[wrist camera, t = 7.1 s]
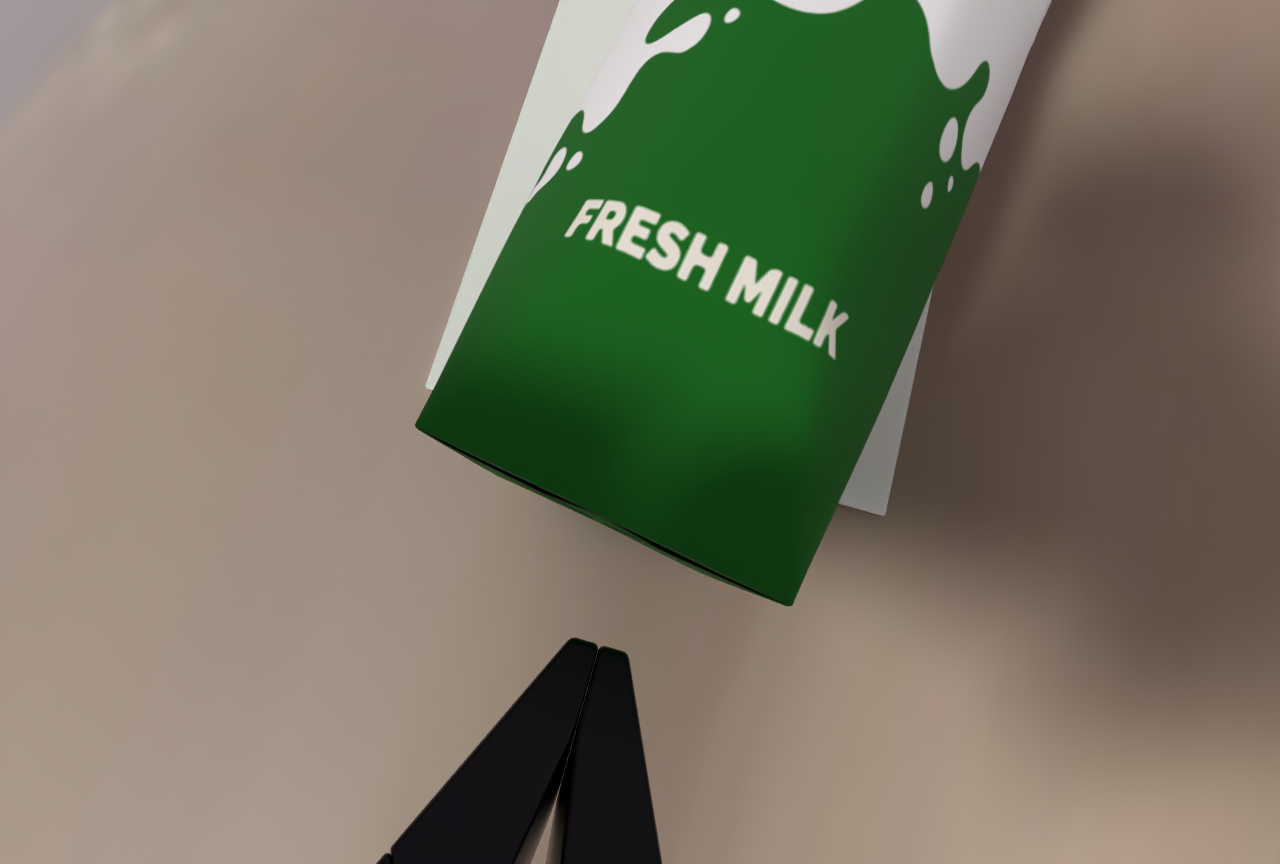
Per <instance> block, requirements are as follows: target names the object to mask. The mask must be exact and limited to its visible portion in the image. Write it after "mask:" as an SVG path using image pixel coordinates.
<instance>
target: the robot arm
mask: <svg viewBox="0 0 1280 864" xmlns="http://www.w3.org/2000/svg"><path fill="white" fill-rule="evenodd" d="M597 652H598V653H597ZM596 655H597V657H596ZM595 659H596V660H595ZM594 662H595V664H594ZM593 666H594V667H593ZM592 669H593V671H592ZM591 673H592V674H591ZM590 677H591V678H590ZM589 680H590V682H589ZM588 684H589V685H588ZM587 687H588V689H587ZM586 691H587V692H586ZM585 695H586V696H585ZM584 698H585V699H584ZM583 702H584V703H583ZM582 705H583V707H582ZM581 709H582V710H581ZM580 712H581V714H580ZM579 716H580V717H579ZM578 720H579V721H578ZM577 723H578V724H577ZM576 727H577V728H576ZM575 730H576V732H575ZM574 734H575V735H574ZM573 737H574V739H573ZM572 741H573V742H572ZM571 745H572V746H571ZM570 748H571V750H570ZM569 752H570V753H569ZM568 755H569V757H568ZM567 759H568V760H567ZM566 762H567V764H566ZM565 766H566V767H565ZM564 770H565V771H564ZM563 773H564V775H563ZM562 777H563V778H562ZM561 780H562V782H561ZM560 784H561V786H560ZM559 787H560V790H559ZM558 790H559V794H558V798H557V802H556V807H555V812H554V817H553V823H552V829H551V835H550V841H549V847H548V853H547V860H546V864H662V859H661V853H660V847H659V841H658V834H657V828H656V822H655V816H654V810H653V804H652V797H651V791H650V785H649V779H648V773H647V766H646V760H645V754H644V748H643V742H642V735H641V729H640V723H639V717H638V711H637V705H636V698H635V692H634V686H633V680H632V674H631V667H630V661H629V657H628V655H627V654H626V653H625V652H623V651H620V650H616V649H613V648H610V647H606V646H602V647H600V648H599V650H598V646H597V645H596V644H595V643H592V642H589V641H585V640H582V639H579V638H571V639H569V640H568V641H567V642H566V643H565V644H564V645H563V647H562V648H561V649H560V650H559V651H558V652H557V654H556V655H555V656H554V657H553V658H552V659H551V661H550V662H549V663H548V664H547V665H546V666H545V668H544V669H543V670H542V671H541V672H540V673H539V675H538V676H537V677H536V678H535V679H534V680H533V682H532V683H531V684H530V685H529V686H528V687H527V689H526V690H525V691H524V692H523V693H522V694H521V696H520V697H519V698H518V699H517V700H516V701H515V703H514V704H513V705H512V706H511V707H510V708H509V710H508V711H507V712H506V713H505V714H504V715H503V717H502V718H501V719H500V720H499V721H498V723H497V724H496V725H495V726H494V727H493V728H492V730H491V731H490V732H489V733H488V734H487V735H486V737H485V738H484V739H483V740H482V741H481V742H480V744H479V745H478V746H477V747H476V748H475V749H474V751H473V752H472V753H471V754H470V755H469V756H468V758H467V759H466V760H465V761H464V762H463V763H462V765H461V766H460V767H459V768H458V769H457V770H456V772H455V773H454V774H453V775H452V776H451V777H450V779H449V780H448V781H447V782H446V783H445V784H444V786H443V787H442V788H441V789H440V790H439V791H438V793H437V794H436V795H435V796H434V797H433V798H432V800H431V801H430V802H429V803H428V804H427V805H426V807H425V808H424V809H423V810H422V811H421V813H420V814H419V815H418V816H417V817H416V818H415V820H414V821H413V822H412V823H411V824H410V825H409V827H408V828H407V829H406V830H405V831H404V832H403V834H402V835H401V836H400V837H399V838H398V839H397V841H396V842H395V843H394V844H393V845H392V846H391V849H390V852H391V855H390V854H389V853H386V854H384V855H383V856H382V858H381V859H380V860H379V861H378V862H377V863H376V864H531V861H532V859H533V856H534V854H535V851H536V849H537V846H538V844H539V841H540V839H541V836H542V834H543V831H544V829H545V826H546V824H547V822H548V819H549V816H550V814H551V811H552V808H553V806H554V803H555V800H556V797H557V793H558Z"/></svg>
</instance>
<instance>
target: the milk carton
mask: <svg viewBox="0 0 1280 864" xmlns="http://www.w3.org/2000/svg"><path fill="white" fill-rule="evenodd" d="M1051 1H1052V0H636V1H635V3H634V5H633V7H632V8H631V10H630V12H629V14H628V16H627V17H626V19H625V21H624V23H623V25H622V27H621V28H620V30H619V32H618V34H617V36H616V38H615V39H614V41H613V43H612V45H611V47H610V48H609V50H608V52H607V54H606V56H605V58H604V59H603V61H602V63H601V65H600V67H599V69H598V70H597V72H596V74H595V76H594V78H593V79H592V81H591V83H590V85H589V87H588V89H587V90H586V92H585V94H584V96H583V98H582V100H581V101H580V103H579V105H578V107H577V109H576V110H575V112H574V114H573V116H572V118H571V120H570V121H569V123H568V125H567V127H566V129H565V131H564V132H563V134H562V136H561V138H560V140H559V141H558V143H557V145H556V147H555V149H554V151H553V152H552V154H551V156H550V158H549V160H548V162H547V163H546V165H545V167H544V169H543V171H542V173H541V175H540V177H539V179H538V181H537V183H536V185H535V187H534V189H533V191H532V193H531V195H530V197H529V199H528V201H527V202H526V204H525V206H524V208H523V210H522V212H521V214H520V216H519V218H518V220H517V221H516V223H515V225H514V227H513V229H512V231H511V233H510V235H509V237H508V239H507V241H506V243H505V245H504V247H503V249H502V251H501V253H500V255H499V257H498V259H497V261H496V263H495V265H494V267H493V269H492V271H491V273H490V275H489V277H488V279H487V281H486V283H485V285H484V287H483V289H482V291H481V293H480V295H479V297H478V299H477V301H476V303H475V305H474V307H473V309H472V311H471V313H470V315H469V318H468V320H467V322H466V324H465V326H464V328H463V330H462V332H461V334H460V336H459V338H458V340H457V342H456V344H455V346H454V348H453V350H452V352H451V354H450V356H449V358H448V360H447V362H446V364H445V366H444V368H443V371H442V373H441V375H440V377H439V379H438V381H437V383H436V385H435V387H434V389H433V391H432V393H431V395H430V397H429V399H428V401H427V403H426V404H425V406H424V408H423V410H422V412H421V414H420V416H419V418H418V420H417V422H416V424H415V426H416V428H417V429H418V430H420V431H421V432H423V433H425V434H426V435H428V436H430V437H431V438H433V439H435V440H437V441H438V442H440V443H442V444H443V445H445V446H447V447H448V448H450V449H452V450H454V451H455V452H457V453H459V454H460V455H462V456H464V457H465V458H467V459H469V460H471V461H472V462H474V463H476V464H477V465H479V466H481V467H483V468H484V469H486V470H488V471H490V472H491V473H493V474H495V475H497V476H499V477H501V478H503V479H505V480H508V481H510V482H512V483H514V484H516V485H519V486H521V487H523V488H525V489H528V490H530V491H532V492H534V493H536V494H539V495H541V496H543V497H545V498H547V499H549V500H552V501H554V502H556V503H558V504H560V505H562V506H564V507H567V508H569V509H571V510H573V511H575V512H577V513H580V514H582V515H584V516H586V517H588V518H590V519H592V520H594V521H596V522H598V523H601V524H603V525H605V526H607V527H609V528H611V529H613V530H615V531H617V532H619V533H621V534H623V535H625V536H627V537H629V538H631V539H633V540H635V541H637V542H639V543H641V544H643V545H645V546H647V547H649V548H651V549H653V550H655V551H657V552H659V553H661V554H663V555H665V556H667V557H669V558H671V559H673V560H675V561H677V562H679V563H681V564H683V565H685V566H687V567H689V568H691V569H693V570H695V571H697V572H700V573H702V574H704V575H707V576H709V577H712V578H714V579H717V580H719V581H722V582H725V583H727V584H730V585H732V586H735V587H738V588H740V589H743V590H745V591H748V592H751V593H753V594H756V595H759V596H761V597H764V598H766V599H769V600H772V601H774V602H777V603H780V604H782V605H785V606H792V605H793V603H794V600H795V598H796V596H797V593H798V591H799V589H800V586H801V584H802V582H803V579H804V577H805V575H806V573H807V570H808V568H809V566H810V564H811V561H812V559H813V557H814V555H815V553H816V551H817V548H818V546H819V544H820V542H821V540H822V538H823V535H824V533H825V531H826V529H827V527H828V525H829V522H830V520H831V518H832V516H833V514H834V512H835V509H836V507H837V505H838V503H839V501H840V499H841V496H842V494H843V492H844V490H845V488H846V485H847V483H848V481H849V479H850V477H851V475H852V472H853V470H854V468H855V466H856V464H857V462H858V459H859V457H860V455H861V453H862V451H863V448H864V446H865V444H866V442H867V440H868V438H869V435H870V433H871V431H872V429H873V427H874V424H875V422H876V420H877V418H878V415H879V413H880V411H881V409H882V406H883V404H884V402H885V400H886V397H887V395H888V392H889V390H890V388H891V385H892V383H893V381H894V378H895V376H896V374H897V371H898V369H899V367H900V364H901V362H902V360H903V357H904V355H905V353H906V350H907V348H908V346H909V343H910V341H911V339H912V336H913V334H914V332H915V329H916V327H917V324H918V322H919V319H920V317H921V315H922V312H923V310H924V307H925V305H926V302H927V300H928V298H929V295H930V293H931V290H932V288H933V286H934V283H935V281H936V278H937V276H938V273H939V271H940V269H941V266H942V264H943V261H944V259H945V256H946V254H947V252H948V249H949V247H950V244H951V242H952V239H953V237H954V235H955V232H956V230H957V227H958V225H959V222H960V220H961V218H962V215H963V213H964V210H965V208H966V205H967V203H968V201H969V198H970V196H971V193H972V191H973V188H974V186H975V184H976V181H977V179H978V176H979V174H980V171H981V169H982V167H983V164H984V162H985V159H986V157H987V154H988V152H989V150H990V147H991V145H992V142H993V140H994V137H995V135H996V133H997V130H998V128H999V125H1000V123H1001V120H1002V118H1003V116H1004V113H1005V111H1006V108H1007V106H1008V103H1009V101H1010V99H1011V96H1012V94H1013V91H1014V88H1015V86H1016V83H1017V81H1018V78H1019V76H1020V73H1021V71H1022V68H1023V66H1024V63H1025V60H1026V58H1027V56H1028V53H1029V51H1030V49H1031V46H1032V45H1033V43H1034V41H1035V38H1036V35H1037V32H1038V30H1039V28H1040V25H1041V23H1042V21H1043V19H1044V17H1045V15H1046V12H1047V10H1048V8H1049V6H1050V4H1051Z"/></svg>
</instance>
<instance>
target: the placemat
mask: <svg viewBox="0 0 1280 864" xmlns="http://www.w3.org/2000/svg"><path fill="white" fill-rule="evenodd" d="M635 1H636V0H560V1H559V4H558V7H557V10H556V13H555V16H554V19H553V22H552V24H551V27H550V30H549V33H548V36H547V39H546V42H545V44H544V47H543V50H542V53H541V56H540V59H539V62H538V65H537V67H536V70H535V73H534V76H533V79H532V82H531V85H530V88H529V90H528V93H527V96H526V99H525V102H524V105H523V108H522V111H521V113H520V116H519V119H518V122H517V125H516V128H515V131H514V133H513V136H512V139H511V142H510V145H509V148H508V151H507V154H506V156H505V159H504V162H503V165H502V168H501V171H500V174H499V177H498V179H497V182H496V185H495V188H494V191H493V194H492V197H491V200H490V202H489V205H488V208H487V211H486V214H485V217H484V220H483V222H482V225H481V228H480V231H479V234H478V237H477V240H476V243H475V245H474V248H473V251H472V254H471V257H470V260H469V263H468V266H467V268H466V271H465V274H464V277H463V280H462V283H461V286H460V289H459V291H458V294H457V297H456V300H455V303H454V306H453V309H452V311H451V314H450V317H449V320H448V323H447V326H446V329H445V332H444V334H443V337H442V340H441V343H440V346H439V349H438V352H437V355H436V357H435V360H434V363H433V366H432V369H431V372H430V375H429V377H428V380H427V383H426V386H425V387H426V388H427V389H429V390H433V389H434V387H435V385H436V383H437V381H438V379H439V377H440V375H441V373H442V371H443V368H444V366H445V364H446V362H447V360H448V358H449V356H450V354H451V352H452V350H453V348H454V346H455V344H456V342H457V340H458V338H459V336H460V334H461V332H462V330H463V328H464V326H465V324H466V322H467V320H468V318H469V315H470V313H471V311H472V309H473V307H474V305H475V303H476V301H477V299H478V297H479V295H480V293H481V291H482V289H483V287H484V285H485V283H486V281H487V279H488V277H489V275H490V273H491V271H492V269H493V267H494V265H495V263H496V261H497V259H498V257H499V255H500V253H501V251H502V249H503V247H504V245H505V243H506V241H507V239H508V237H509V235H510V233H511V231H512V229H513V227H514V225H515V223H516V221H517V220H518V218H519V216H520V214H521V212H522V210H523V208H524V206H525V204H526V202H527V201H528V199H529V197H530V195H531V193H532V191H533V189H534V187H535V185H536V183H537V181H538V179H539V177H540V175H541V173H542V171H543V169H544V167H545V165H546V163H547V162H548V160H549V158H550V156H551V154H552V152H553V151H554V149H555V147H556V145H557V143H558V141H559V140H560V138H561V136H562V134H563V132H564V131H565V129H566V127H567V125H568V123H569V121H570V120H571V118H572V116H573V114H574V112H575V110H576V109H577V107H578V105H579V103H580V101H581V100H582V98H583V96H584V94H585V92H586V90H587V89H588V87H589V85H590V83H591V81H592V79H593V78H594V76H595V74H596V72H597V70H598V69H599V67H600V65H601V63H602V61H603V59H604V58H605V56H606V54H607V52H608V50H609V48H610V47H611V45H612V43H613V41H614V39H615V38H616V36H617V34H618V32H619V30H620V28H621V27H622V25H623V23H624V21H625V19H626V17H627V16H628V14H629V12H630V10H631V8H632V7H633V5H634V3H635ZM932 290H933V288H932ZM932 290H931V293H930V295H929V298H928V300H927V302H926V305H925V307H924V310H923V312H922V315H921V317H920V319H919V322H918V324H917V327H916V329H915V332H914V334H913V336H912V339H911V341H910V343H909V346H908V348H907V350H906V353H905V355H904V357H903V360H902V362H901V364H900V367H899V369H898V371H897V374H896V376H895V378H894V381H893V383H892V385H891V388H890V390H889V392H888V395H887V397H886V400H885V402H884V404H883V406H882V409H881V411H880V413H879V415H878V418H877V420H876V422H875V424H874V427H873V429H872V431H871V433H870V435H869V438H868V440H867V442H866V444H865V446H864V448H863V451H862V453H861V455H860V457H859V459H858V462H857V464H856V466H855V468H854V470H853V472H852V475H851V477H850V479H849V481H848V483H847V485H846V488H845V490H844V492H843V494H842V496H841V499H840V501H839V503H838V504H841V505H845V506H848V507H852V508H855V509H859V510H863V511H866V512H870V513H873V514H877V515H881V516H883V515H885V514H886V509H887V505H888V500H889V495H890V490H891V486H892V481H893V476H894V471H895V467H896V462H897V457H898V452H899V447H900V443H901V438H902V433H903V428H904V424H905V419H906V414H907V409H908V405H909V400H910V395H911V390H912V386H913V381H914V376H915V371H916V367H917V362H918V357H919V352H920V347H921V343H922V338H923V333H924V328H925V324H926V319H927V314H928V309H929V305H930V300H931V295H932Z"/></svg>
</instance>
